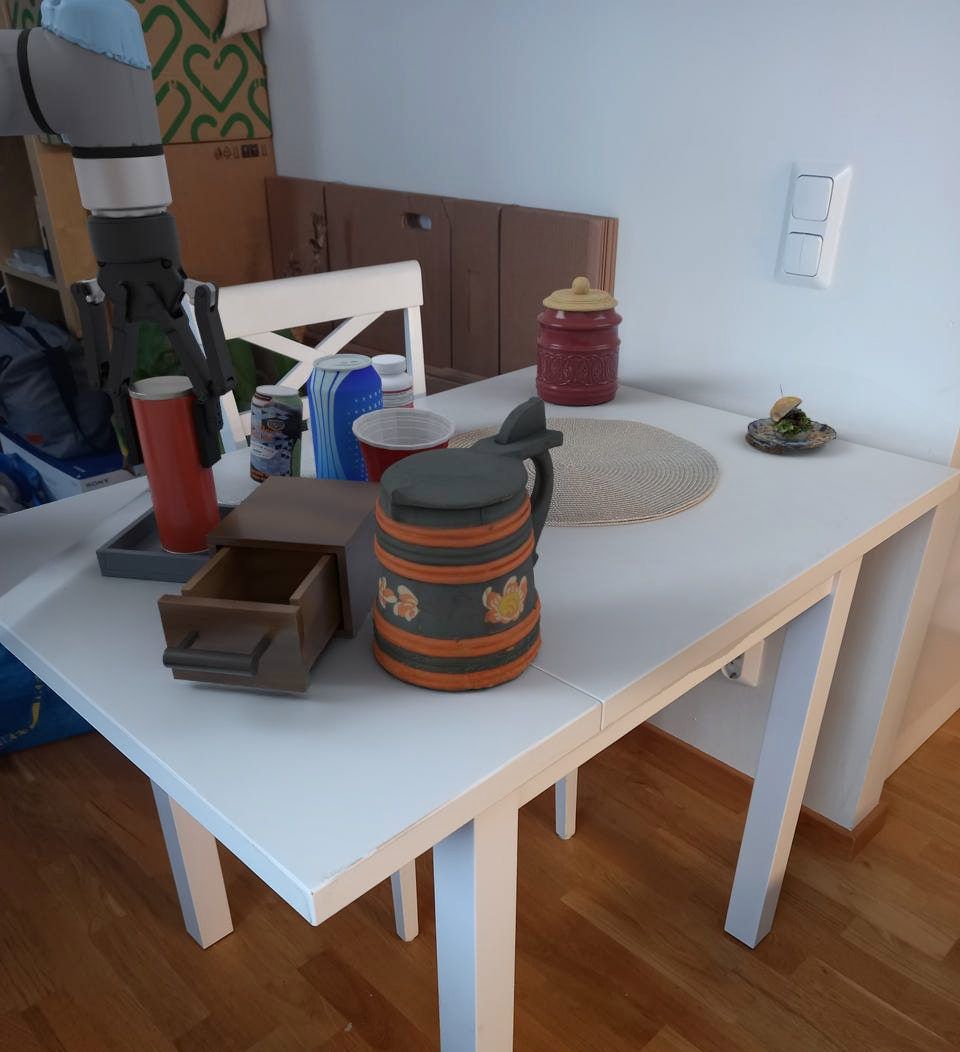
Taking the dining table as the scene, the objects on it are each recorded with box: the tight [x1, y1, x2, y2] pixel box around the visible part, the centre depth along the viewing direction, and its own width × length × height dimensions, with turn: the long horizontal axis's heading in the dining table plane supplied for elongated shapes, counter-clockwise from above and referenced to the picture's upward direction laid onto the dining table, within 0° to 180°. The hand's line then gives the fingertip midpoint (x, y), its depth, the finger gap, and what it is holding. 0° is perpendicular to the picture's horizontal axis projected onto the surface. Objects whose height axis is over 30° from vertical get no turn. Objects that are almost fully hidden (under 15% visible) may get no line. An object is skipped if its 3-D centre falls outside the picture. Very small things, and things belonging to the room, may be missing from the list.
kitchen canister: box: [535, 276, 624, 406], centre depth 142 cm, size 13×13×18 cm
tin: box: [128, 375, 221, 556], centre depth 93 cm, size 6×6×17 cm
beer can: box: [306, 353, 383, 482], centre depth 107 cm, size 8×8×16 cm
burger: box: [745, 384, 837, 455], centre depth 124 cm, size 12×12×8 cm
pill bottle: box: [371, 353, 415, 409], centre depth 126 cm, size 6×6×11 cm
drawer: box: [156, 545, 343, 694], centre depth 76 cm, size 18×11×7 cm, turn 169°
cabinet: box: [206, 476, 381, 639], centre depth 87 cm, size 15×13×9 cm
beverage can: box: [249, 384, 304, 486], centre depth 112 cm, size 6×7×12 cm
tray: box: [95, 502, 239, 584], centre depth 97 cm, size 14×14×3 cm
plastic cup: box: [352, 407, 455, 482], centre depth 100 cm, size 11×11×12 cm
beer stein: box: [372, 396, 564, 692], centre depth 77 cm, size 19×15×20 cm
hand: (177, 460), depth 93 cm, fingers open, 7 cm apart
